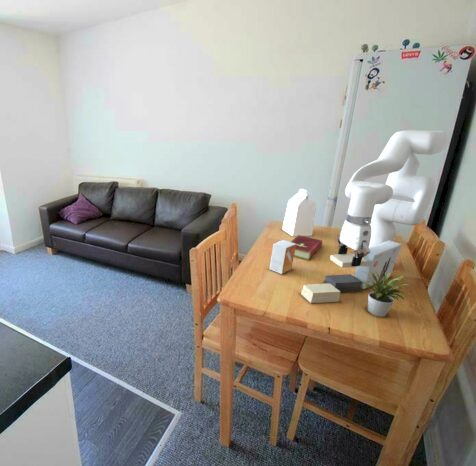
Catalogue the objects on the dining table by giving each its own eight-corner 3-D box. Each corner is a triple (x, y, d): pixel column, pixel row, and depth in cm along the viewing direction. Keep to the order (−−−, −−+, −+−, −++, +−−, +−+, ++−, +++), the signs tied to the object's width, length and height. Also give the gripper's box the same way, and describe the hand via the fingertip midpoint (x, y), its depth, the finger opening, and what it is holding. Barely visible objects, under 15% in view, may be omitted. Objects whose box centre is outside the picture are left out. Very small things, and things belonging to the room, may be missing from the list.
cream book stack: (327, 292, 124) (330, 283, 122) (338, 301, 118) (341, 291, 116) (301, 294, 124) (302, 284, 122) (310, 303, 118) (312, 293, 116)
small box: (281, 274, 139) (286, 248, 134) (268, 269, 144) (272, 243, 139) (291, 269, 143) (296, 243, 138) (279, 264, 148) (283, 239, 143)
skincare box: (364, 290, 124) (375, 254, 119) (350, 284, 129) (359, 249, 123) (392, 277, 133) (402, 243, 128) (377, 272, 138) (387, 239, 132)
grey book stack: (348, 283, 130) (350, 274, 128) (359, 291, 124) (362, 281, 122) (323, 284, 130) (325, 275, 128) (333, 292, 124) (335, 283, 122)
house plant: (349, 316, 109) (360, 275, 104) (347, 297, 120) (357, 259, 114) (401, 329, 102) (416, 286, 96) (394, 307, 113) (407, 268, 107)
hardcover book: (321, 247, 164) (323, 239, 163) (309, 260, 151) (310, 252, 149) (297, 241, 172) (298, 234, 171) (283, 253, 159) (284, 246, 157)
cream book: (353, 258, 126) (354, 253, 126) (366, 266, 120) (368, 260, 119) (329, 259, 126) (330, 254, 125) (341, 267, 120) (343, 262, 119)
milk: (312, 235, 180) (320, 191, 170) (292, 236, 179) (300, 192, 170) (300, 228, 191) (307, 187, 182) (282, 229, 191) (288, 187, 181)
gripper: (387, 226, 108) (374, 271, 115) (351, 211, 124) (342, 251, 131) (366, 227, 108) (355, 272, 115) (333, 212, 124) (324, 252, 131)
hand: (348, 260), depth 123 cm, fingers closed on cream book, 7 cm apart
